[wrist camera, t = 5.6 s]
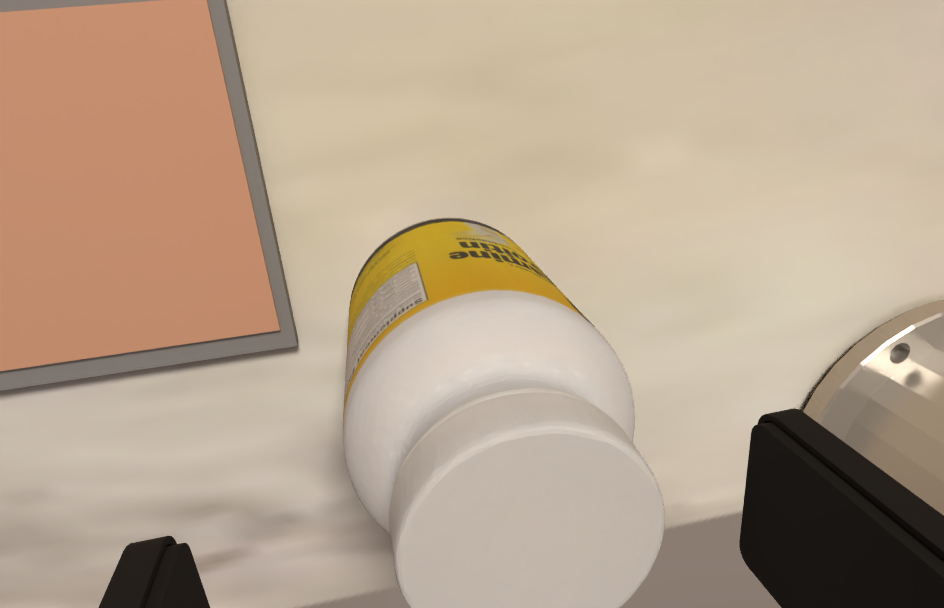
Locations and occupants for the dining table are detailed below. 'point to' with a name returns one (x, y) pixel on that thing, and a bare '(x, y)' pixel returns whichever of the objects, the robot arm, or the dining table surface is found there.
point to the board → (129, 193)
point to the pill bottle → (492, 429)
